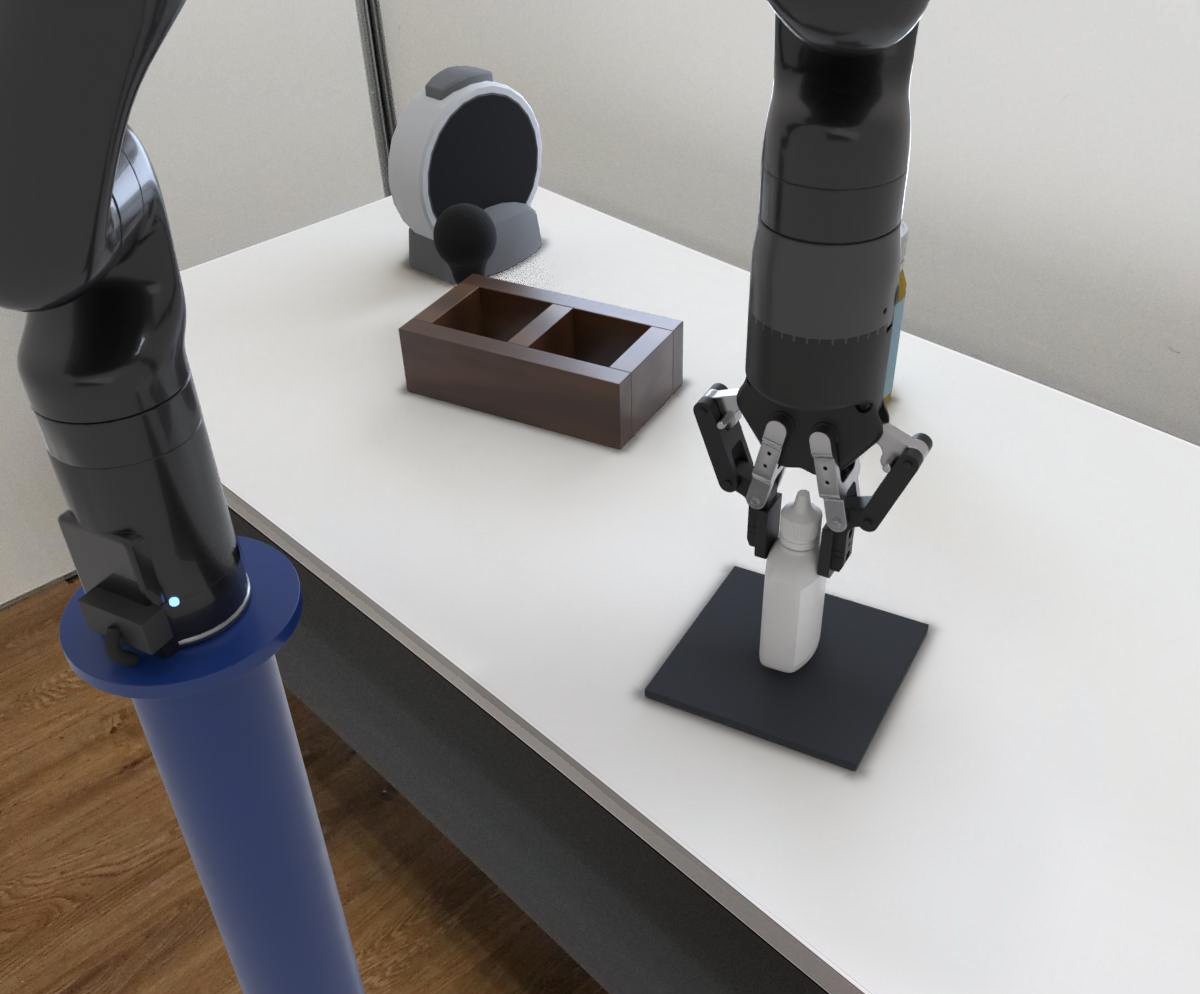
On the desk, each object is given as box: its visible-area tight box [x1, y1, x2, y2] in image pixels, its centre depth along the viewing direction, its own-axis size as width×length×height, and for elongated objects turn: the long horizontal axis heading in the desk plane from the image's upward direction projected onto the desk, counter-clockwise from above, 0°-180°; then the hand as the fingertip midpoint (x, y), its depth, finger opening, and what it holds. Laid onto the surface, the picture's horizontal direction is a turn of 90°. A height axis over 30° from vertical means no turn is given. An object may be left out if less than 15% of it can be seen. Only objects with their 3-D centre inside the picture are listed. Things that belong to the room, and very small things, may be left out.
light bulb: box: [433, 203, 497, 286], centre depth 118 cm, size 6×6×10 cm
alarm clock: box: [387, 65, 543, 285], centre depth 124 cm, size 16×10×18 cm, turn 136°
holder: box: [397, 274, 684, 450], centre depth 107 cm, size 12×21×6 cm, turn 61°
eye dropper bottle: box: [759, 489, 828, 673], centre depth 77 cm, size 4×6×12 cm
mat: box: [644, 565, 930, 771], centre depth 81 cm, size 14×14×1 cm
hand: (797, 558), depth 76 cm, fingers closed on eye dropper bottle, 3 cm apart
